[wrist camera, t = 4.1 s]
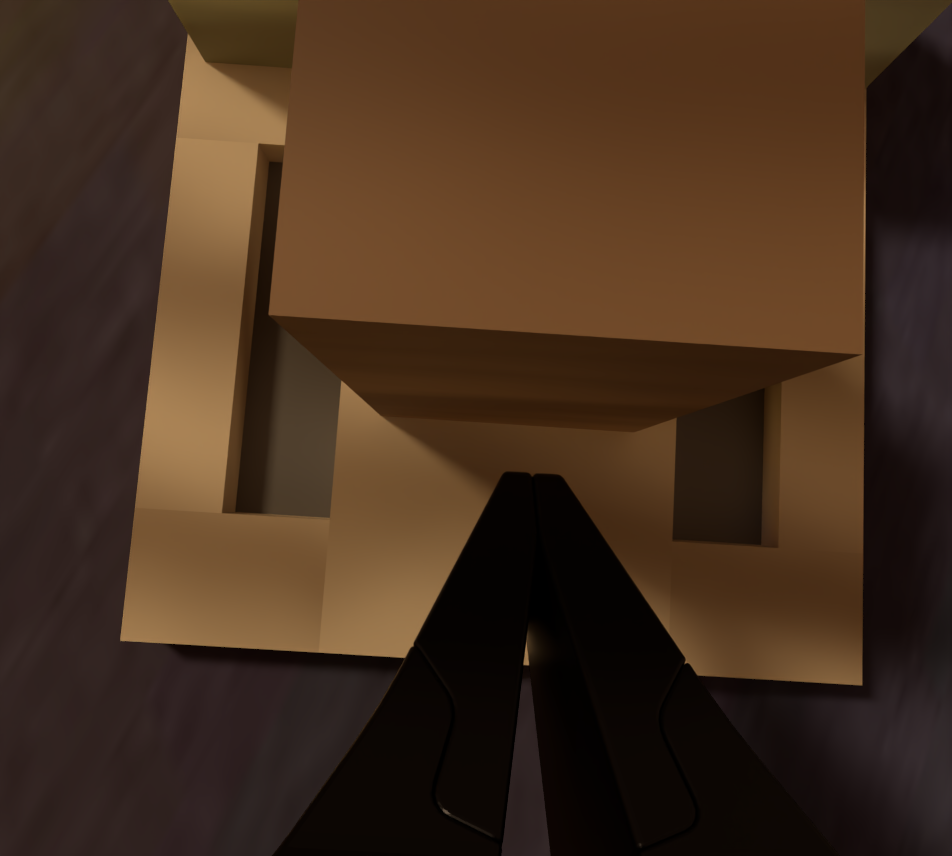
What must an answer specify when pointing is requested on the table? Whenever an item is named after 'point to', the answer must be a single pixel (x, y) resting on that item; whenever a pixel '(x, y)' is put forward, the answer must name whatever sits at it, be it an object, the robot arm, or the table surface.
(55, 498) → the table surface
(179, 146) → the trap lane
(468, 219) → the walnut block
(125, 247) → the table surface
